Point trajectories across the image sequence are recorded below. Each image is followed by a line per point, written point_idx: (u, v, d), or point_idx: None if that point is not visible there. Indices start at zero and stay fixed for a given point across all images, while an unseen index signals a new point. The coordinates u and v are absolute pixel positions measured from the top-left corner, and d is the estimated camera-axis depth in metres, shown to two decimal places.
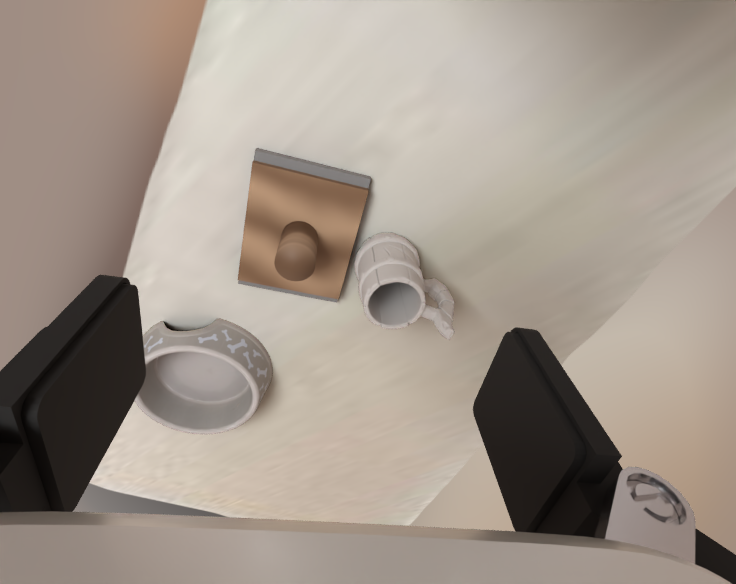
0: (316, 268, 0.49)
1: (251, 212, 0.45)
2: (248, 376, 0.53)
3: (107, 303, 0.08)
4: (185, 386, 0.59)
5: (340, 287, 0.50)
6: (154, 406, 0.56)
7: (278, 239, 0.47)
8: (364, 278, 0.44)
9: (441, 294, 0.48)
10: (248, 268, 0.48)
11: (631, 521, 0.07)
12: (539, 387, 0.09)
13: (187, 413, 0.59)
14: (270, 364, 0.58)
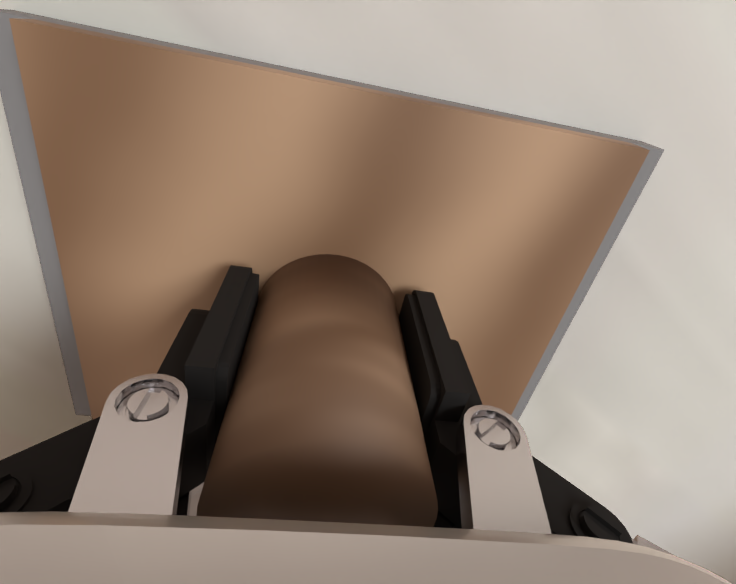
0: None
1: (435, 129, 0.10)
2: None
3: (246, 288, 0.10)
4: None
5: None
6: None
7: (308, 242, 0.11)
8: None
9: None
10: (116, 94, 0.09)
11: (484, 463, 0.07)
12: (417, 339, 0.10)
13: None
14: None
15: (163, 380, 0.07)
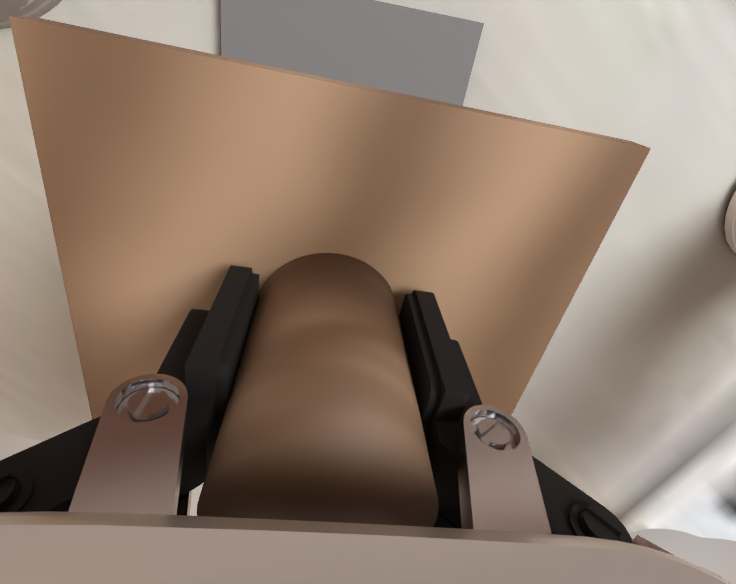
0: None
1: (435, 128, 0.10)
2: None
3: (245, 288, 0.10)
4: None
5: None
6: None
7: (309, 241, 0.11)
8: None
9: None
10: (116, 92, 0.09)
11: (484, 463, 0.07)
12: (417, 339, 0.10)
13: None
14: (5, 25, 0.25)
15: (163, 380, 0.07)
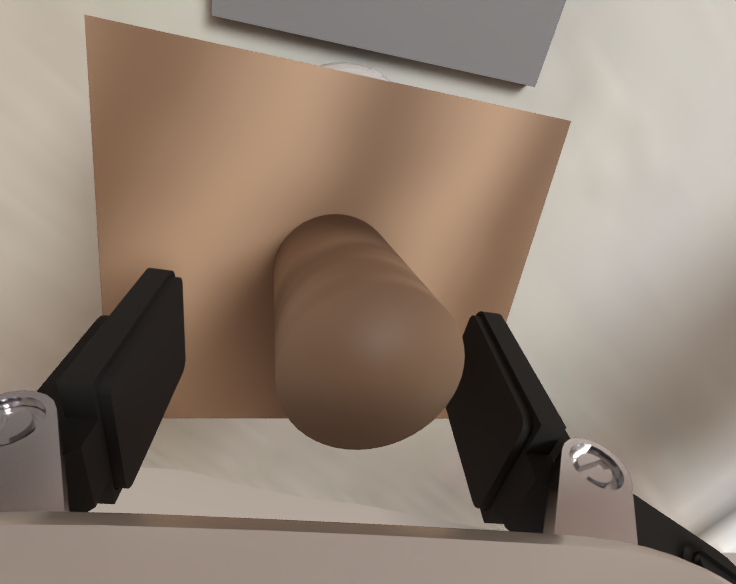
0: (224, 335, 0.14)
1: (416, 106, 0.13)
2: None
3: (159, 293, 0.09)
4: None
5: None
6: None
7: (319, 204, 0.13)
8: None
9: None
10: (166, 77, 0.11)
11: (577, 493, 0.07)
12: (496, 365, 0.09)
13: None
14: None
15: (32, 398, 0.07)
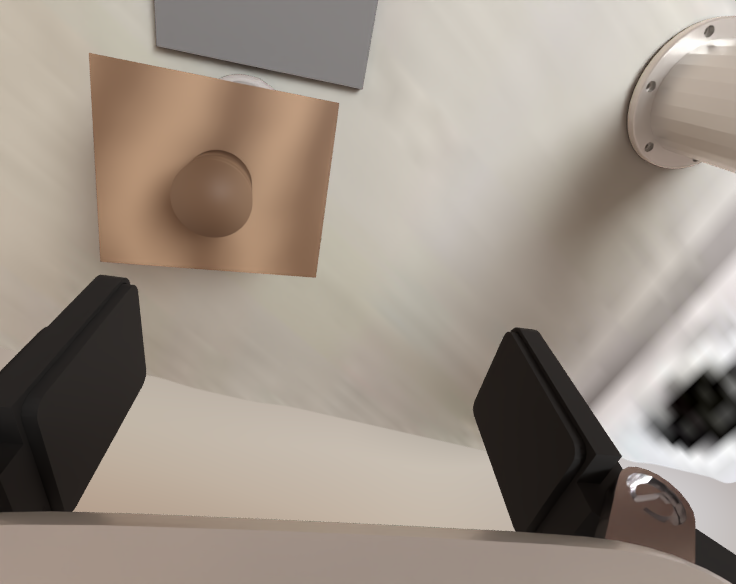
0: (162, 215, 0.27)
1: (253, 94, 0.26)
2: None
3: (107, 303, 0.08)
4: None
5: (130, 261, 0.28)
6: None
7: (207, 144, 0.26)
8: None
9: None
10: (127, 80, 0.24)
11: (631, 521, 0.07)
12: (539, 387, 0.09)
13: None
14: None
15: None
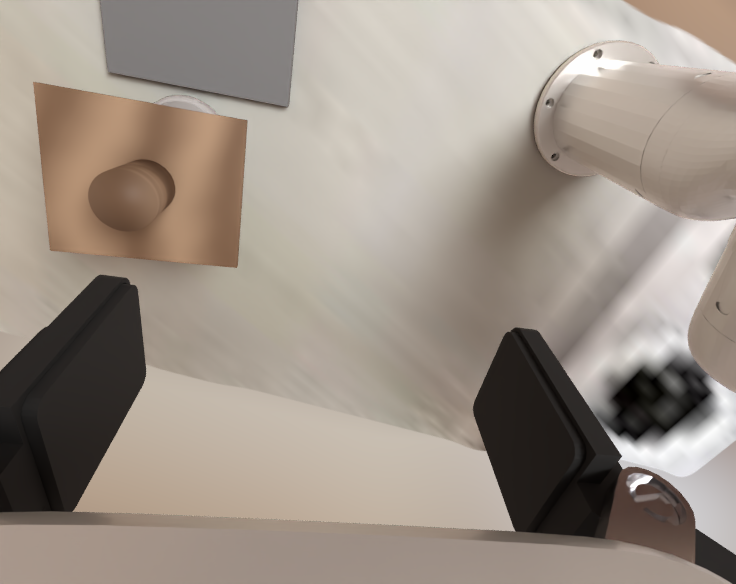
0: None
1: (171, 114, 0.31)
2: None
3: (107, 303, 0.08)
4: None
5: (75, 250, 0.33)
6: None
7: (135, 154, 0.32)
8: None
9: None
10: (65, 103, 0.29)
11: (631, 521, 0.07)
12: (539, 387, 0.09)
13: None
14: None
15: None
